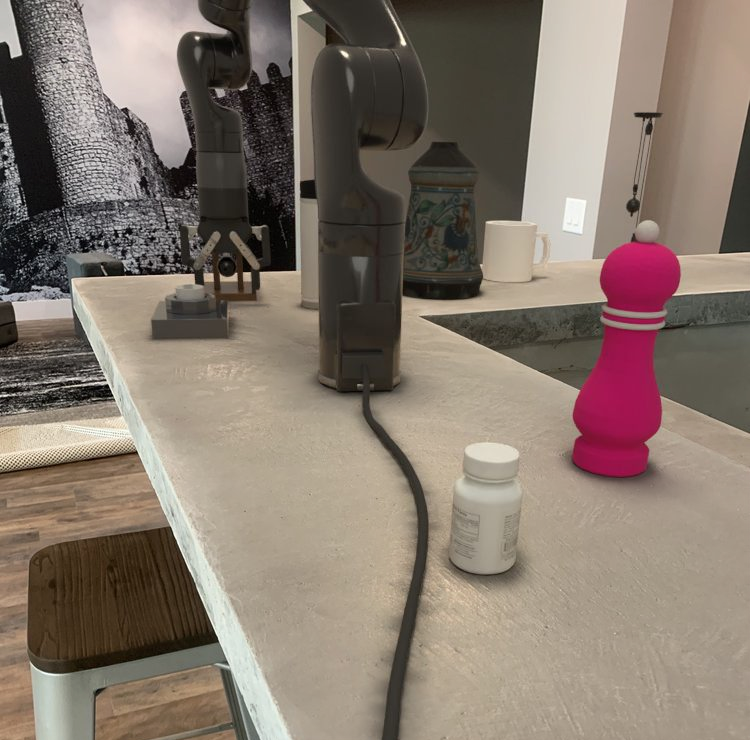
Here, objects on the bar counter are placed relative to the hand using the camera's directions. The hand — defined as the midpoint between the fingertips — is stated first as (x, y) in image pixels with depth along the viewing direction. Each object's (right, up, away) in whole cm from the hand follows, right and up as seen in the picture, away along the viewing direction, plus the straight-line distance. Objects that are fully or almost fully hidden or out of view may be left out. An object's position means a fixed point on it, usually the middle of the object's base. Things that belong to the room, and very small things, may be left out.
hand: (228, 293), depth 124 cm
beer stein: (+34, +5, +18) cm, 39 cm away
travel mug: (+15, -2, +2) cm, 15 cm away
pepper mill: (+44, -31, -57) cm, 79 cm away
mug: (+52, +12, +33) cm, 63 cm away
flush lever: (-1, +8, +3) cm, 8 cm away
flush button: (-2, -5, -16) cm, 17 cm away
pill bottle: (+31, -38, -73) cm, 88 cm away
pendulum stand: (-2, +2, +10) cm, 10 cm away
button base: (-2, -9, -14) cm, 17 cm away
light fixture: (+80, +17, +46) cm, 94 cm away
